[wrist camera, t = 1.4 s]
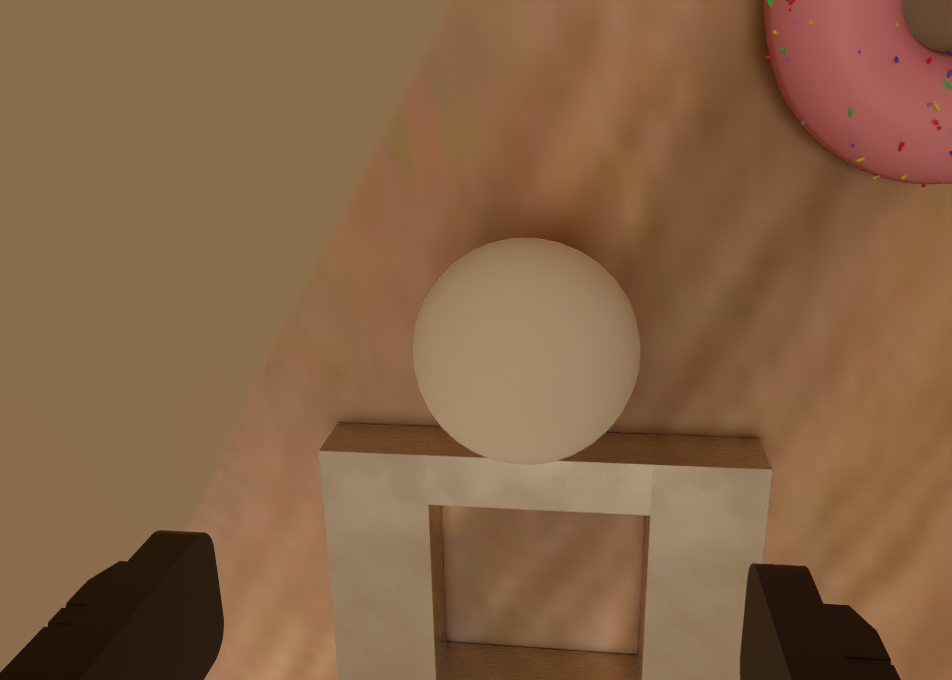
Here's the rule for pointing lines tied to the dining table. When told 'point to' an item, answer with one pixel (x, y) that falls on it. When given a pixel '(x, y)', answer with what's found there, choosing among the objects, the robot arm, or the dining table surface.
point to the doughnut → (864, 85)
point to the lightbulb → (526, 350)
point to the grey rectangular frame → (554, 489)
